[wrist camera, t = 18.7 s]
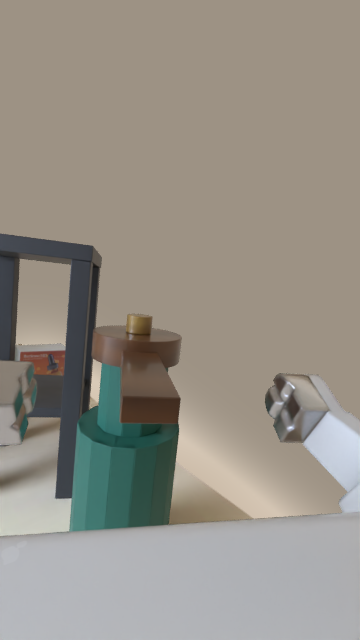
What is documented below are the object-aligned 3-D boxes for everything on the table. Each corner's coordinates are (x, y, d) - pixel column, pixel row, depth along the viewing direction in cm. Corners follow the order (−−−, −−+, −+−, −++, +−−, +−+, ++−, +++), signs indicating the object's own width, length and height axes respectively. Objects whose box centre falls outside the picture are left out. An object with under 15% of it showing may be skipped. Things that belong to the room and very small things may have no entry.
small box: (15, 416, 46) (18, 351, 45) (10, 403, 50) (12, 343, 49) (66, 408, 51) (70, 349, 50) (58, 396, 55) (61, 342, 54)
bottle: (44, 580, 22) (59, 360, 20) (103, 509, 29) (118, 344, 27) (137, 628, 19) (163, 383, 18) (176, 537, 27) (197, 359, 25)
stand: (74, 498, 30) (93, 245, 27) (-58, 504, 28) (-51, 226, 25) (87, 438, 42) (101, 257, 39) (-5, 438, 39) (4, 244, 37)
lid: (227, 425, 13) (236, 350, 13) (61, 423, 11) (67, 339, 11) (171, 349, 28) (175, 314, 27) (95, 344, 26) (98, 307, 26)
